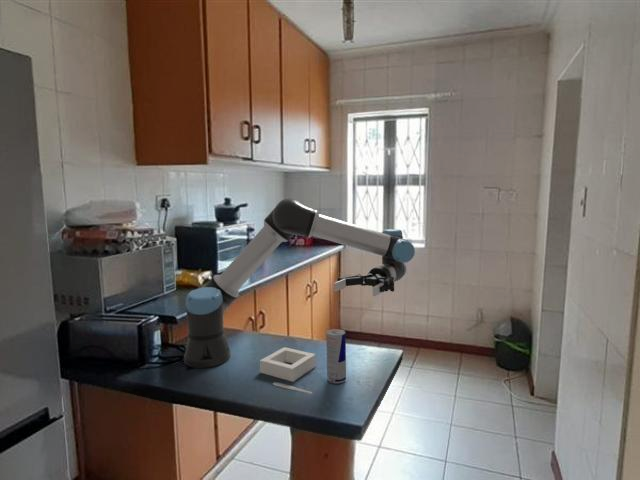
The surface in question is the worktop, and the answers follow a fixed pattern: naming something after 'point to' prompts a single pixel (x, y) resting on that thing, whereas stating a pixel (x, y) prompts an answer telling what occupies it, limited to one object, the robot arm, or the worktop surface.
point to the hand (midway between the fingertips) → (353, 289)
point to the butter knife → (290, 387)
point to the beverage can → (336, 356)
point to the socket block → (279, 369)
